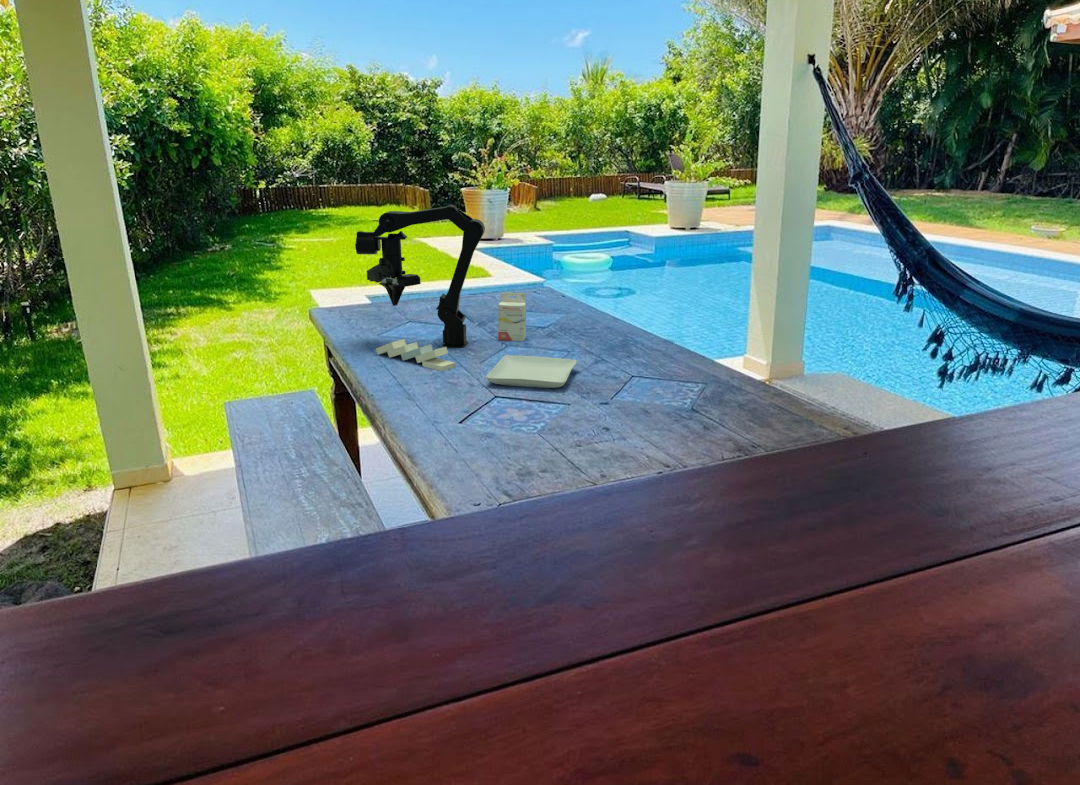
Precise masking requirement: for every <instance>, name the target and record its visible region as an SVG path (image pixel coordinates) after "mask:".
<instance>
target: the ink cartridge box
mask: <svg viewBox="0 0 1080 785" xmlns="http://www.w3.org/2000/svg"><path fill="white" fill-rule="evenodd" d="M512 297H515V298H512ZM497 307H498V308H497V310H498V311H497V313H498V314H497V315H498V317H497V322H498V324H497V326H498V327H497V329H498V331H497V332H498V333H497V334H498V336H497V337H498V341H508V342H525V341H526V337H527V303H526V293H525V292H501V293H500V301H499V303H498V306H497Z"/></svg>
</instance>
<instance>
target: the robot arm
mask: <svg viewBox="0 0 1080 785" xmlns="http://www.w3.org/2000/svg"><path fill="white" fill-rule="evenodd" d="M448 220H449V221H450V222H451V223H452V224H454V225H455V226H456V227H457V228H458V229H459V230H461V231H462V232H463V233H462V244H461V250H460V253H459V257H458V260H457V263H456V266H455V269H454V273H453V276H452V278H451V282H450V284H449V288H448V291H447V293H446V294H445V293H444V292H443V293H441V295H440V297H439V302H438V305H437V306H436V309H435V310H437V317H438V319H439V320H440V321H441V322H442V323H443V330H442V344H443V345H442V347H446V348H464V347H465V346H466V345H467V344H468V343H469V340H467V324H465V323H464V322H465V319H466V315H465V314H464V313H462V311H460V310H459V309H460V300H461V293H462V289H463V286H464V284H465V280H466V277H467V275H468V271H469V268H470V264H471V261H472V259H473V255H474V253H475V250H476V249H477V247H478V245H479V243H480V241H481V239H482V238H483V236H484V234H485V231H486V228H485V224H484V222H483V221H482V220H480V219H477V218H472V217H471V216H470V215H468V214H466V213H465V212H463V211H462V210H460V209H459V208H457V206H456V205H453V204H450V205H447V206H442V207H441V206H440V207H436V208H427V209H421V210H415V211H404V210H403V211H401V210H398V211H397V210H389V211H387V212H385V213H382V214H381V215H380V216H379V218H378V225H377V227H376V229H374V231H363V230H362V231H360V230H358V231H357V232H356V238H355V244H354V246H355V247H354V248H355V252H356V254H357V255H378V252H380V251H381V254H382V256H381V257H380V258H379V259H378V263H377V264H376V265H374V266H371V268H369V269H367V270H366V280H367V281H369V282H374V283H376V284H377V283H379V285H380V286H382V287H383V288H384V289H385V290H386V292H387V294H388V297H389V299H390V301H391V304H392V306H395V307H396V306H398V304H399V301H400V299H401V297H402V294H403V292H404V290H405V288H406V287H410V286H411V287H412V286H417V285H421V277H420V276H419V274H416V273H415V274H413V273H406V270H403V262H405V260H406V259H405V257H404V256H402V255H403V254H402V242H401V240H402V241H403V240H407V238H408V236H407V235H406V234H405V233H404V232H403V231H402V230H401V229H404V228H407V227H410V226H415V225H420V224H421V225H422V224H427V223H434V222H440V221H441V222H442V221H448ZM399 230H400V231H399ZM395 231H396V232H397V231H399V232H398V233H393V232H395ZM385 233H388V234H387V236H382V235H384V234H385Z"/></svg>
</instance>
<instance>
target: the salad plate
mask: <svg viewBox="0 0 1080 785" xmlns="http://www.w3.org/2000/svg"><path fill="white" fill-rule="evenodd" d="M577 364H578V360H577V359H572V358H557V357H546V356H532V355H531V356H530V355H514V354H513V355H512V354H505V355H504V356H502V357H501V359H500V360H499V361H498V363H497V364H496V365H495V366H494V367H493V368H492V369H491V370H490V371H489V372H488V373H487V374H486V376H485V379H486V380H487V381H488V382H489V383H493V384H495V385H501V386H511V387H523V388H524V387H526V388H541V389H555V388H560V387H562V386H564V385H565V384H566V382H567V380H569V376H570V374H571V372H572V371H573V369H574V368H575V366H576V365H577Z"/></svg>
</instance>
